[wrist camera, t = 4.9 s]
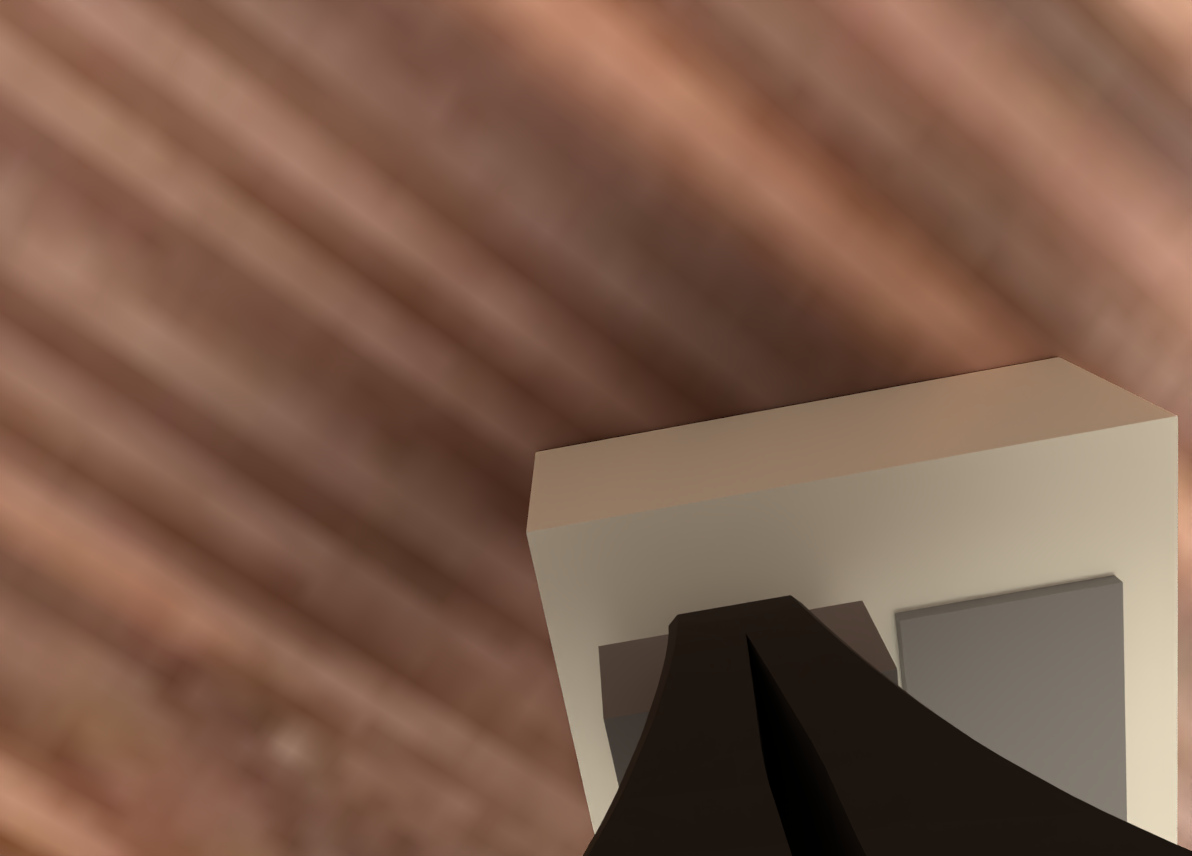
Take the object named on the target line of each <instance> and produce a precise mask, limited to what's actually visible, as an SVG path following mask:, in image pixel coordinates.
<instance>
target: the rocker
mask: <svg viewBox="0 0 1192 856" xmlns="http://www.w3.org/2000/svg"><path fill="white" fill-rule="evenodd" d="M810 611H811V612H812V613H813V614H814V615H815V616H816V617H817V618H818V619H819V620H820V621H822V622H823V623H824V624H825V625H826V626H827V627H828V628H829V629H830V630H831V631H833V632H834V633H835V634H836V635H837V636H838V637H839V638H840V639H842V640H843V641H844V642H845V643H846V644H847V645H849V646H850V647H851V648H852V649H853V650H854V651H856V652H857V653H858V654H859V655H860V656H862V657H863V658H864V659H865V660H866V661H868V662H869V663H870V664H871V665H872V666H874V667H875V668H876V669H877V670H879V671H880V672H881V673H883V674H884V675H885V676H887V677H888V678H889V679H890V680H892V681H893V682H894V683H896V684H897V685H898V673H897V667H896V665H895V663H894V661H893V660H892V658H891V656H890V654H889V652H888V650H887V648H886V646H885V644H884V642H883V640H882V638H881V636H880V634H879V632H878V630H877V628H876V626H875V624H874V622H873V620H872V618H871V616H870V614H869V612H868V610H867V608H866V607H865V605H864V603H863V601H856V602H850V603H844V604H839V605H833V606H827V607H821V608H815V609H810ZM668 635H669V634H666V635H660V636H654V637H649V638H643V639H637V640H631V641H626V642H620V643H614V644H608V645H603V646H598V649H599V663H600V677H601V692H602V706H603V719H604V724H605V728H606V733H607V737H608V741H609V746H610V750H611V755H612V759H613V763H614V768H615V772H616V777H617V781H618V785H619V786H620V783H621V781H622V779H623V777H624V774H625V772H626V770H627V767H628V765H629V763H630V760H631V758H632V756H633V754H634V751H635V749H636V747H637V744H638V742H639V739H640V737H641V734H642V732H643V729H644V726H645V723H646V720H647V717H648V714H649V711H650V708H651V705H652V702H653V699H654V696H655V693H656V690H657V687H658V684H659V680H660V676H661V672H662V668H663V665H664V660H665V655H666V650H667V644H668Z"/></svg>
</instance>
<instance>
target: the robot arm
mask: <svg viewBox="0 0 1192 856" xmlns="http://www.w3.org/2000/svg"><path fill="white" fill-rule="evenodd" d="M668 631H669V635H668V644H667V650H666V655H665V660H664V665H663V668H662V672H661V676H660V680H659V684H658V687H657V690H656V693H655V696H654V699H653V702H652V705H651V708H650V711H649V714H648V717H647V720H646V723H645V726H644V729H643V732H642V734H641V737H640V739H639V742H638V744H637V747H636V749H635V751H634V754H633V756H632V758H631V760H630V763H629V765H628V767H627V770H626V772H625V774H624V777H623V779H622V781H621V783H620V786H619V788H618V790H617V793H616V795H615V797H614V799H613V801H612V803H611V805H610V807H609V809H608V811H607V813H606V815H605V817H604V819H603V820H602V822H601V824H600V826H599V828H598V830H597V832H596V834H595V835H594V837H593V839H592V841H591V842H590V844H589V846H588V848H587V849H586V851H585V853H584V855H583V856H1192V851H1190V850H1188V849H1186V848H1183V847H1181V846H1179V845H1176V844H1174V843H1172V842H1170V841H1168V840H1166V839H1163V838H1161V837H1159V836H1157V835H1155V834H1152V833H1150V832H1148V831H1146V830H1144V829H1141V828H1139V827H1137V826H1135V825H1133V824H1130V823H1128V822H1126V821H1124V820H1122V819H1120V818H1117V817H1115V816H1113V815H1111V814H1109V813H1106V812H1104V811H1102V810H1100V809H1098V808H1096V807H1094V806H1092V805H1090V804H1088V803H1086V802H1084V801H1082V800H1080V799H1078V798H1076V797H1074V796H1072V795H1070V794H1068V793H1066V792H1065V791H1063V790H1061V789H1059V788H1057V787H1055V786H1054V785H1052V784H1050V783H1048V782H1046V781H1045V780H1043V779H1041V778H1039V777H1037V776H1036V775H1034V774H1032V773H1030V772H1028V771H1027V770H1025V769H1023V768H1021V767H1019V766H1018V765H1016V764H1014V763H1012V762H1011V761H1009V760H1007V759H1005V758H1003V757H1002V756H1000V755H998V754H997V753H995V752H993V751H992V750H990V749H988V748H987V747H985V746H983V745H982V744H980V743H979V742H977V741H975V740H974V739H972V738H971V737H969V736H968V735H966V734H965V733H963V732H962V731H960V730H959V729H958V728H956V727H955V726H953V725H952V724H950V723H949V722H947V721H946V720H944V719H943V718H941V717H940V716H938V715H937V714H936V713H934V712H933V711H931V710H930V709H929V708H927V707H926V706H925V705H923V704H922V703H920V702H919V701H918V700H916V699H915V698H914V697H912V696H911V695H910V694H908V693H907V692H906V691H905V690H903V689H902V688H901V687H899V686H898V685H897V684H896V683H894V682H893V681H892V680H890V679H889V678H888V677H887V676H885V675H884V674H883V673H881V672H880V671H879V670H877V669H876V668H875V667H874V666H872V665H871V664H870V663H869V662H868V661H866V660H865V659H864V658H863V657H862V656H860V655H859V654H858V653H857V652H856V651H854V650H853V649H852V648H851V647H850V646H849V645H847V644H846V643H845V642H844V641H843V640H842V639H840V638H839V637H838V636H837V635H836V634H835V633H834V632H833V631H831V630H830V629H829V628H828V627H827V626H826V625H825V624H824V623H823V622H822V621H820V620H819V619H818V618H817V617H816V616H815V615H814V614H813V613H812V612H811V611H810V610H809V609H808V608H807V607H805V606H804V605H803V604H802V603H801V602H800V601H798V600H797V599H795V598H794V597H793V596H791V595H788V596H782V597H776V598H770V599H765V600H759V601H753V602H747V603H741V604H736V605H730V606H724V607H718V608H712V609H707V610H701V611H695V612H689V613H683V614H678V615H677V616H676V617H675V618H674V619H673V621H672V622H671V623H670V624H669V626H668Z"/></svg>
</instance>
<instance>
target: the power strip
mask: <svg viewBox="0 0 1192 856" xmlns="http://www.w3.org/2000/svg"><path fill="white" fill-rule="evenodd" d="M526 534H527V538H528V543H529V547H530V552H531V556H532V561H533V565H534V569H535V574H536V578H537V583H538V587H539V592H540V596H541V600H542V605H543V609H544V614H545V618H546V623H547V627H548V631H549V636H550V640H551V645H552V649H553V653H554V658H555V662H556V667H557V671H558V676H559V680H560V684H561V689H562V693H563V698H564V702H565V707H566V711H567V715H568V720H569V724H570V729H571V733H572V738H573V742H574V746H575V751H576V755H577V760H578V764H579V768H580V773H581V777H582V782H583V786H584V791H585V795H586V799H587V804H588V808H589V813H590V817H591V822H592V826H593V830H594V835H595V834H596V832H597V830H598V828H599V826H600V824H601V822H602V820H603V819H604V817H605V815H606V813H607V811H608V809H609V807H610V805H611V803H612V801H613V799H614V797H615V795H616V793H617V790H618V788H619V785H618V781H617V777H616V772H615V768H614V763H613V759H612V755H611V750H610V746H609V741H608V737H607V733H606V728H605V724H604V719H603V706H602V692H601V677H600V663H599V649H598V646H603V645H608V644H614V643H620V642H626V641H631V640H637V639H643V638H649V637H654V636H660V635H666V634H669V631H668V626H669V624H670V623H671V622H672V621H673V619H674V618H675V617H676V616H677V615H678V614H683V613H689V612H695V611H701V610H707V609H712V608H718V607H724V606H730V605H736V604H741V603H747V602H753V601H759V600H765V599H770V598H776V597H782V596H788V595H791V596H793V597H794V598H795V599H797V600H798V601H800V602H801V603H802V604H803V605H804V606H805V607H807V608H808V609H809V610H810V609H815V608H821V607H827V606H833V605H839V604H844V603H850V602H856V601H863V603H864V605H865V607H866V608H867V610H868V612H869V614H870V616H871V618H872V620H873V622H874V624H875V626H876V628H877V630H878V632H879V634H880V636H881V638H882V640H883V642H884V644H885V646H886V648H887V650H888V652H889V654H890V656H891V658H892V660H893V661H894V663H895V665H896V667H897V673H898V686H899V687H901V688H902V689H903V690H905V691H906V692H907V693H908V694H910V695H911V696H912V697H914V698H915V699H916V700H918V701H919V702H920V703H922V704H923V705H925V706H926V707H927V708H929V709H930V710H931V711H933V712H934V713H936V714H937V715H938V716H940V717H941V718H943V719H944V720H946V721H947V722H949V723H950V724H952V725H953V726H955V727H956V728H958V729H959V730H960V731H962V732H963V733H965V734H966V735H968V736H969V737H971V738H972V739H974V740H975V741H977V742H979V743H980V744H982V745H983V746H985V747H987V748H988V749H990V750H992V751H993V752H995V753H997V754H998V755H1000V756H1002V757H1003V758H1005V759H1007V760H1009V761H1011V762H1012V763H1014V764H1016V765H1018V766H1019V767H1021V768H1023V769H1025V770H1027V771H1028V772H1030V773H1032V774H1034V775H1036V776H1037V777H1039V778H1041V779H1043V780H1045V781H1046V782H1048V783H1050V784H1052V785H1054V786H1055V787H1057V788H1059V789H1061V790H1063V791H1065V792H1066V793H1068V794H1070V795H1072V796H1074V797H1076V798H1078V799H1080V800H1082V801H1084V802H1086V803H1088V804H1090V805H1092V806H1094V807H1096V808H1098V809H1100V810H1102V811H1104V812H1106V813H1109V814H1111V815H1113V816H1115V817H1117V818H1120V819H1122V820H1124V821H1126V822H1128V823H1130V824H1133V825H1135V826H1137V827H1139V828H1141V829H1144V830H1146V831H1148V832H1150V833H1152V834H1155V835H1157V836H1159V837H1161V838H1163V839H1166V840H1168V841H1170V842H1172V843H1174V844H1176V845H1177V693H1178V416H1177V415H1175V414H1173V413H1171V412H1169V411H1167V410H1165V409H1163V408H1161V407H1159V406H1157V405H1155V404H1153V403H1151V402H1149V401H1147V400H1145V399H1143V398H1141V397H1139V396H1137V395H1135V394H1133V393H1131V392H1129V391H1127V390H1125V389H1123V388H1121V387H1119V386H1117V385H1115V384H1113V383H1111V382H1109V381H1107V380H1105V379H1103V378H1101V377H1099V376H1097V375H1095V374H1093V373H1091V372H1089V371H1087V370H1085V369H1083V368H1081V367H1079V366H1077V365H1074V364H1072V363H1070V362H1068V361H1066V360H1064V359H1062V358H1060V357H1056V358H1050V359H1045V360H1039V361H1034V362H1028V363H1023V364H1017V365H1012V366H1006V367H1001V368H995V369H990V370H984V371H979V372H973V373H968V374H963V375H957V376H952V377H946V378H941V379H935V380H930V381H924V382H919V383H913V384H908V385H902V386H897V387H891V388H886V389H880V390H875V391H869V392H864V393H858V394H853V395H847V396H842V397H836V398H831V399H825V400H820V401H814V402H809V403H803V404H798V405H792V406H787V407H781V408H776V409H770V410H765V411H759V412H754V413H748V414H743V415H737V416H732V417H726V418H721V419H715V420H710V421H704V422H699V423H693V424H688V425H682V426H677V427H671V428H666V429H660V430H655V431H649V432H644V433H638V434H633V435H627V436H622V437H616V438H611V439H605V440H600V441H594V442H589V443H583V444H578V445H572V446H567V447H561V448H556V449H550V450H545V451H539V452H536V453H535V462H534V470H533V479H532V487H531V495H530V504H529V512H528V521H527V529H526Z"/></svg>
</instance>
